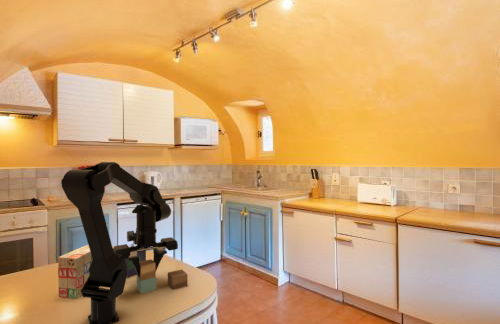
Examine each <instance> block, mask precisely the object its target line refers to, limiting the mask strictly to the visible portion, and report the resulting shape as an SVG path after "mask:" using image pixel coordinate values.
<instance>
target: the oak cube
mask: <svg viewBox="0 0 500 324" xmlns="http://www.w3.org/2000/svg"><path fill="white" fill-rule="evenodd" d="M139 264H140V277H139V278H140V280H141V281H142V280H146V279H150V278H154V277H156V278H157V275H156V274H157V273H156V272H157V270H156V263H155V262H154V261H153V259H151V258H150V259H146V260H145V261H140V262H139Z"/></svg>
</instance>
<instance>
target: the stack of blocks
mask: <svg viewBox="0 0 500 324" xmlns="http://www.w3.org/2000/svg"><path fill="white" fill-rule="evenodd" d="M114 246H115V245H112V248H114ZM57 259H58V260H57V261H58V262H57V263H58V267H57V275H58V276H57V277H58V298H65V299H75V300H76V299H79V298H80V297H81V296H82V294H81V289H82V288H83V286H84V284H85V282H86V281H87V279H88V277H89V267H90V265H91V262H92V255H91V252H90V248H89V245H88V244H86V245H84V246H82V247H79V248H77V249H75V250H71V251H70V252H68V253H64V254H62V255H60V256H58V257H57ZM82 297H83V296H82Z"/></svg>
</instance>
